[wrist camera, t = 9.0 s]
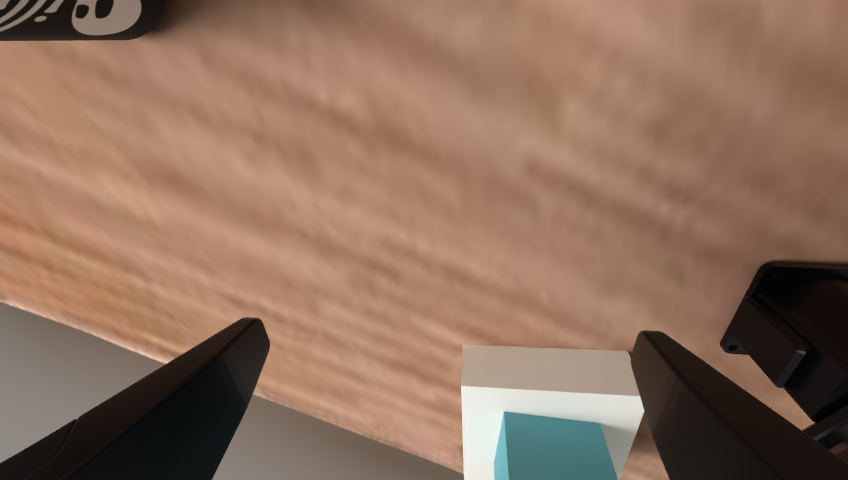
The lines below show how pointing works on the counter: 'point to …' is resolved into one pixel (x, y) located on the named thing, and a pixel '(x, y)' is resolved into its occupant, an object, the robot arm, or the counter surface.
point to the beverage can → (77, 19)
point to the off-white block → (545, 396)
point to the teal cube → (551, 450)
